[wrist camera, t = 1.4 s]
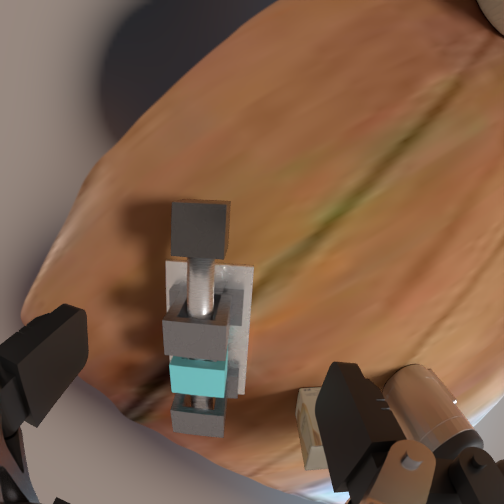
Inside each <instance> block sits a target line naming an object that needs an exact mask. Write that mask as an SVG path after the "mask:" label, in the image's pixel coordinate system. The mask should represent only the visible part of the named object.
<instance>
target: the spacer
mask: <svg viewBox="0 0 504 504" xmlns="http://www.w3.org/2000/svg"><path fill="white" fill-rule="evenodd" d="M227 363H228V345H227V353H226V360H225V361H217V362H209V361H199V360H190V359H188V358H186V357H178V356H173V357H172V360H171V362H170V364H169V367H170V379H171V389H172V392H174V393H182V394H190V395H198V396H208V397H219V398H224V393H225V385H226V377H227Z"/></svg>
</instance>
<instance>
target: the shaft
mask: <svg viewBox="0 0 504 504" xmlns="http://www.w3.org/2000/svg"><path fill="white" fill-rule="evenodd" d="M230 204H231V201H217V200H196V199H182V200H178V201H174V202H172V218H171V256H180V257H187V318H191V319H202V320H213V306H214V272H215V259H224V258H225V255H226V252H227V249H228V239H229V221H230ZM189 359H190V360H199V361H209V362H213V360H206V359H196V358H189ZM190 397H191V407H192V408H201V409H211V410H213V397H208V396H198V395H190Z"/></svg>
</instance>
